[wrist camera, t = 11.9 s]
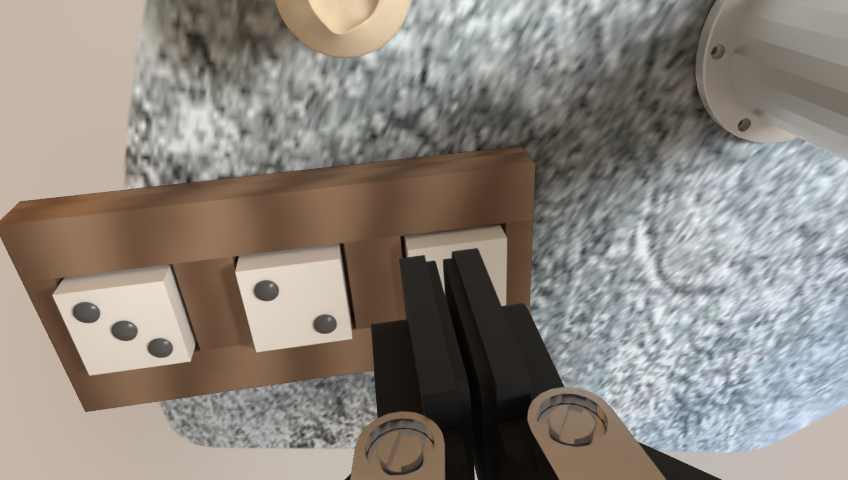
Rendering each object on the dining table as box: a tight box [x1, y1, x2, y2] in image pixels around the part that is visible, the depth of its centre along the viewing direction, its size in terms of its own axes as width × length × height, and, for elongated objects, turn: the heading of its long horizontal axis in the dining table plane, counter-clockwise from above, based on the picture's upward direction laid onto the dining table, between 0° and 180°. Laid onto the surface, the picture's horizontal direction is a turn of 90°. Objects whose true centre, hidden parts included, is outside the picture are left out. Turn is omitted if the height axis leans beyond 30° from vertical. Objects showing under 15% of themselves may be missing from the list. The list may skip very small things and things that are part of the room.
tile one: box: [403, 224, 507, 306], centre depth 38 cm, size 6×6×3 cm
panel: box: [0, 146, 535, 412], centre depth 38 cm, size 30×14×3 cm, turn 93°
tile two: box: [235, 243, 352, 352], centre depth 37 cm, size 6×6×3 cm
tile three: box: [52, 264, 197, 376], centre depth 36 cm, size 6×6×3 cm
